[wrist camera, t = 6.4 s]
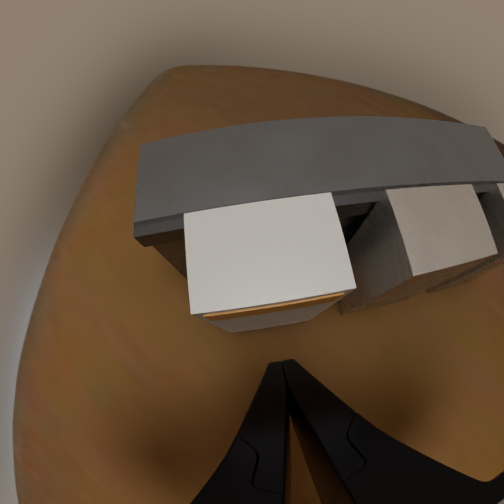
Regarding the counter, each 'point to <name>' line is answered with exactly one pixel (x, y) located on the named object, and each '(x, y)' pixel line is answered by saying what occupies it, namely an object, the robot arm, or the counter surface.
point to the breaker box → (343, 193)
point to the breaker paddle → (266, 262)
